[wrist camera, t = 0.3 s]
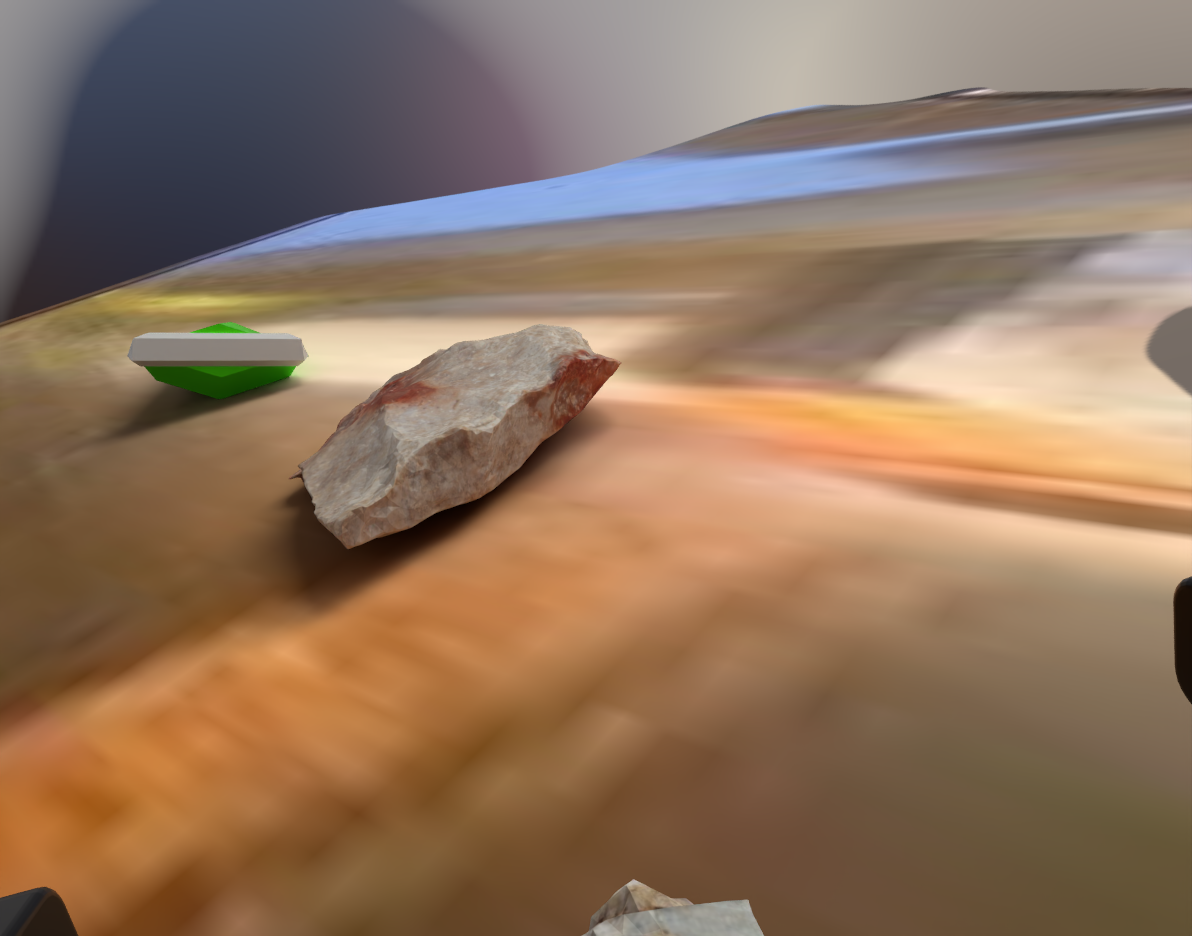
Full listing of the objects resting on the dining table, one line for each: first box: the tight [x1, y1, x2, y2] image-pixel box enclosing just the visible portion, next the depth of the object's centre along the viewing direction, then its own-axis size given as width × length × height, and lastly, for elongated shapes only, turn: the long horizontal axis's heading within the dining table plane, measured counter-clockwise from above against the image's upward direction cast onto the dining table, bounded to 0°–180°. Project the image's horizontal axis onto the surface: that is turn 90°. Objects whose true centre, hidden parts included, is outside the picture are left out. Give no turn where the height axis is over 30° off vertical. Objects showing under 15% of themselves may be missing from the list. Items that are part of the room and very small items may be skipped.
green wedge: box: [128, 322, 308, 399], centre depth 84 cm, size 11×5×25 cm
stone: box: [289, 324, 622, 549], centre depth 56 cm, size 20×6×15 cm
